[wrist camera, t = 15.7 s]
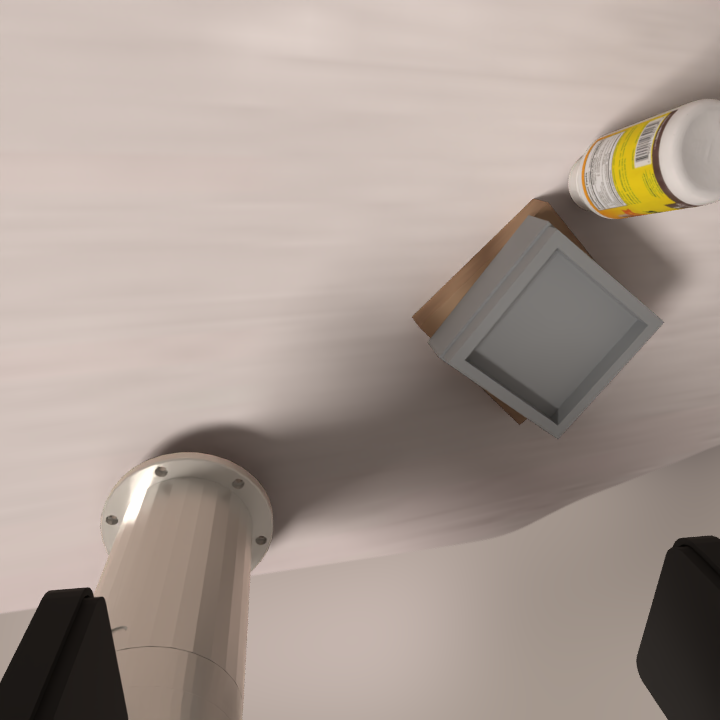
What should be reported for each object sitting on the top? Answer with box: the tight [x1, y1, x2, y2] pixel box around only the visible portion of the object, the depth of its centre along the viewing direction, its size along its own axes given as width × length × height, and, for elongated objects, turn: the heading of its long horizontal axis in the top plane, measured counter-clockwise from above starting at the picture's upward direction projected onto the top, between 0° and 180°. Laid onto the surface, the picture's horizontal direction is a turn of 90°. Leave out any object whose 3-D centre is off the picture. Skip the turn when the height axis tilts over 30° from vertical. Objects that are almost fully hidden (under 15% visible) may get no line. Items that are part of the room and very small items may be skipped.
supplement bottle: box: [568, 99, 720, 219], centre depth 35 cm, size 6×6×10 cm
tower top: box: [428, 215, 664, 439], centre depth 39 cm, size 11×11×4 cm
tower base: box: [412, 199, 594, 425], centre depth 42 cm, size 12×12×3 cm
